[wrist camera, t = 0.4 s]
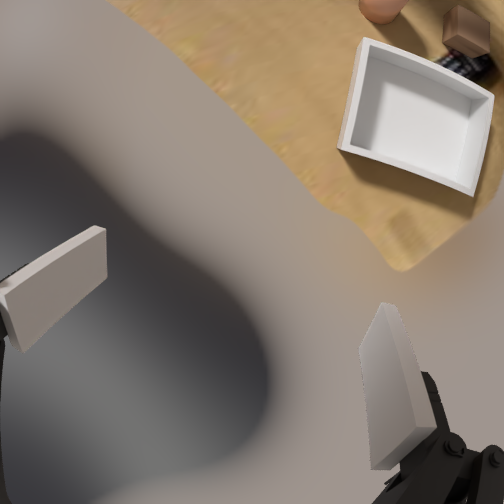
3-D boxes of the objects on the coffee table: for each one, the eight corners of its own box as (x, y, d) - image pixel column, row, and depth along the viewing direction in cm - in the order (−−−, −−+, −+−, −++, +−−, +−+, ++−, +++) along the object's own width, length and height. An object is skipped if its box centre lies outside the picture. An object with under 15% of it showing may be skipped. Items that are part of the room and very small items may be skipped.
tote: (356, 48, 28) (363, 36, 24) (475, 97, 27) (494, 95, 22) (336, 147, 34) (340, 149, 29) (456, 188, 32) (473, 197, 28)
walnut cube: (443, 15, 23) (458, 4, 19) (473, 30, 23) (489, 22, 18) (441, 43, 25) (457, 34, 21) (471, 58, 25) (489, 52, 20)
